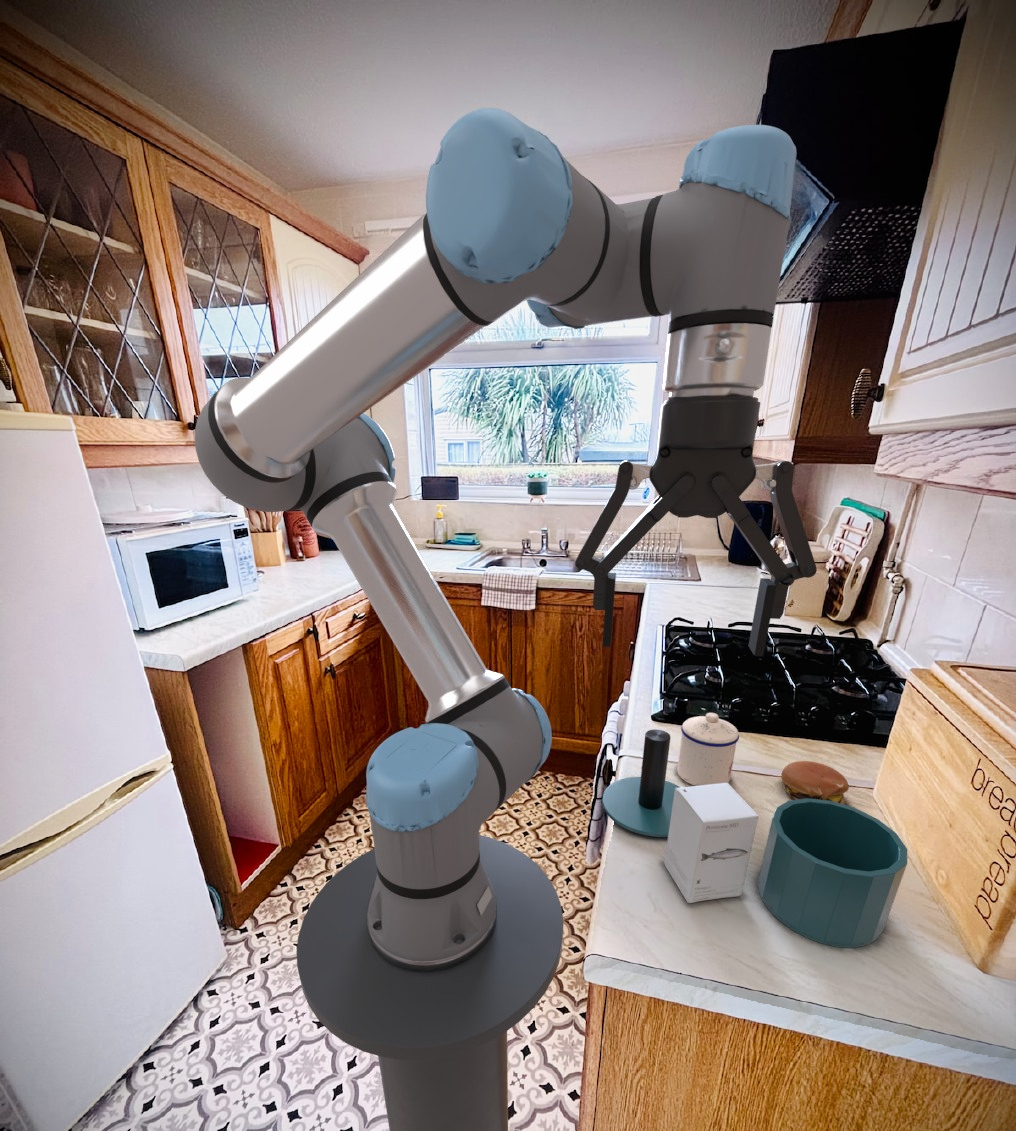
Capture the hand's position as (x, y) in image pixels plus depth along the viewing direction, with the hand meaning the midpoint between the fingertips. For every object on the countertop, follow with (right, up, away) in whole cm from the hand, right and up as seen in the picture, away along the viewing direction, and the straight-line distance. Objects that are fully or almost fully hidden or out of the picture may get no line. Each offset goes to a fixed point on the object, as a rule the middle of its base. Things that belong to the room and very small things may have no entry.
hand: (679, 646), depth 52 cm
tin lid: (+6, -23, +33) cm, 41 cm away
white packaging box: (+9, -30, +19) cm, 36 cm away
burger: (+33, -22, +36) cm, 54 cm away
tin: (+22, -31, +16) cm, 41 cm away
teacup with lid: (+17, -19, +43) cm, 50 cm away
